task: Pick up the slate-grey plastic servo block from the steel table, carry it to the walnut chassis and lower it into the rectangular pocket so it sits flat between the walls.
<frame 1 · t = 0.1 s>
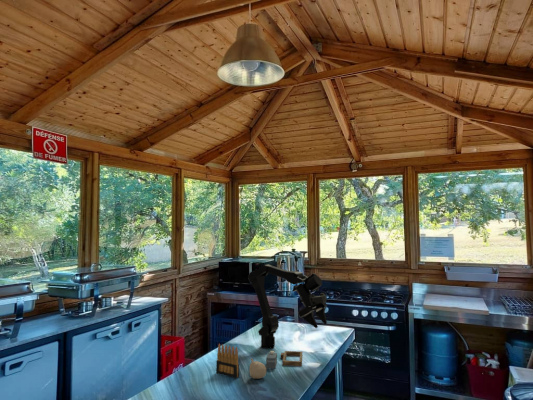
hand: (321, 325, 174), 15 cm above the table, tool tilted 35°, fingers open, 9 cm apart
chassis: (292, 360, 171), on the table
ammunition clip: (227, 375, 153), on the table
garlic bulb: (257, 378, 149), on the table
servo: (271, 365, 164), on the table
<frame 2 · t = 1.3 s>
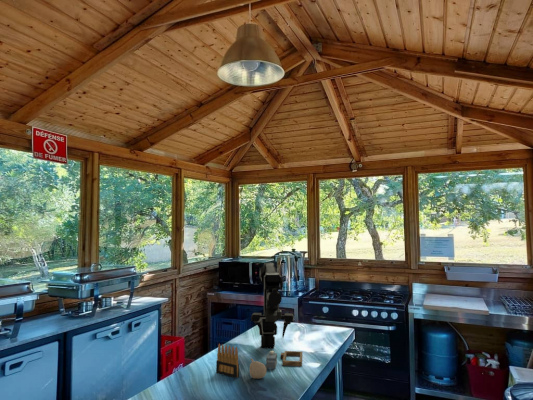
hand: (272, 337, 165), 12 cm above the table, tool pointing down, fingers open, 9 cm apart
nothing on the table moved.
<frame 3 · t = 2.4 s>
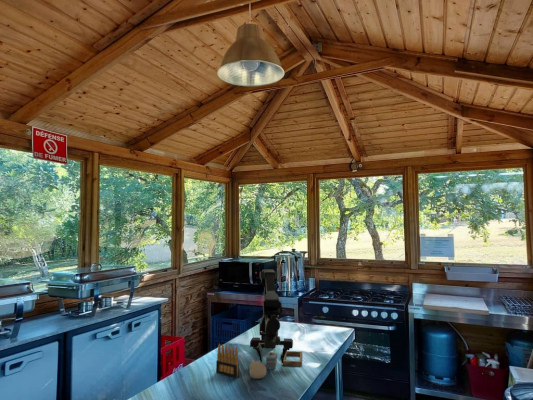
hand: (271, 362, 164), 1 cm above the table, tool pointing down, fingers open, 9 cm apart
nothing on the table moved.
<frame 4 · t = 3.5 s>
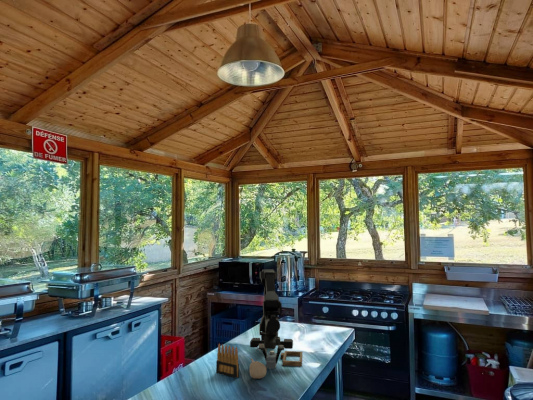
hand: (271, 363, 164), 1 cm above the table, tool pointing down, fingers closed on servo, 4 cm apart
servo: (271, 365, 164), on the table, touching gripper
everything else where it was.
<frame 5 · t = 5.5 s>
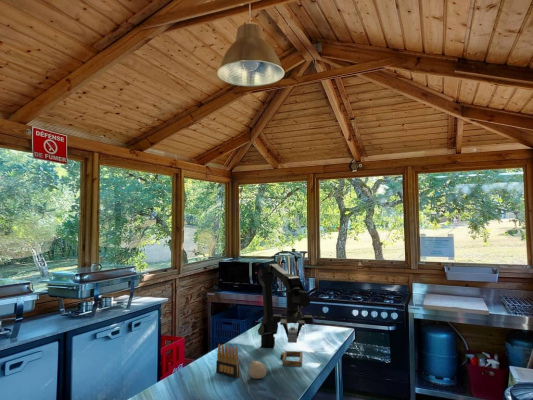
hand: (292, 337, 172), 10 cm above the table, tool pointing down, fingers closed on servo, 4 cm apart
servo: (292, 340, 171), point 9 cm above the table, touching gripper
everything else where it was.
when the fingers open (2 cm above the table, at t = 7.4 s): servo drops 2 cm, resting in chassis.
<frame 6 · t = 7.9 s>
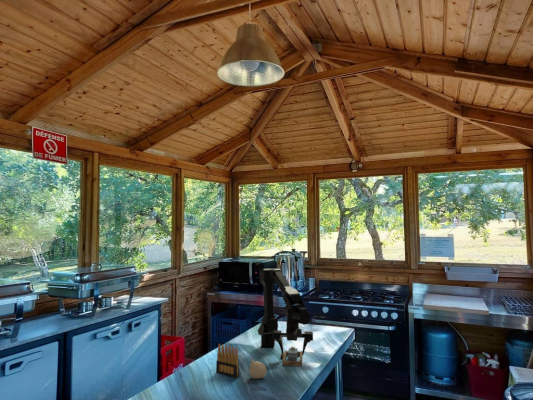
hand: (292, 354, 171), 2 cm above the table, tool pointing down, fingers open, 9 cm apart
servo: (292, 360, 170), resting in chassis
everything else where it was.
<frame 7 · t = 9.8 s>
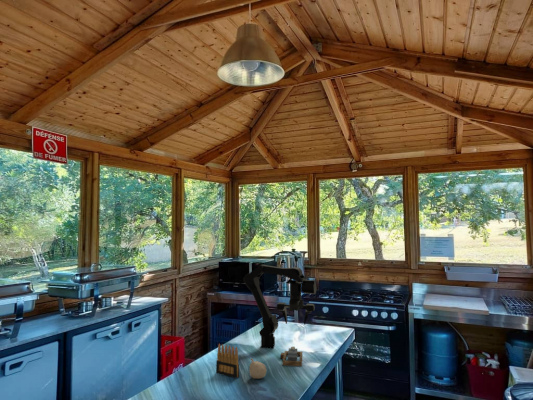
hand: (295, 324, 187), 13 cm above the table, tool pointing down, fingers open, 9 cm apart
nothing on the table moved.
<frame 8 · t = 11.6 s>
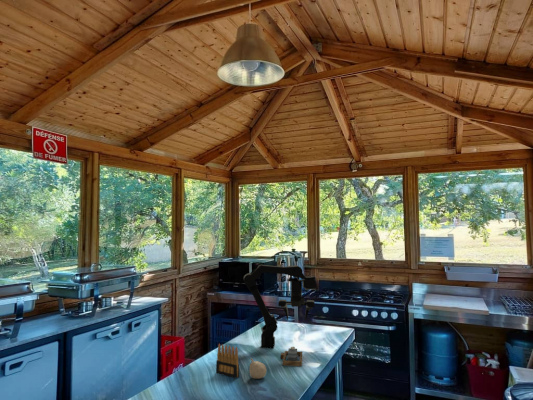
hand: (296, 320, 193), 13 cm above the table, tool pointing down, fingers open, 9 cm apart
nothing on the table moved.
at the end: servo inside the target area on the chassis (0.5 cm from its centre), point 0.0 cm above the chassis's base; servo tilted 0°; the gripper is holding nothing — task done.
